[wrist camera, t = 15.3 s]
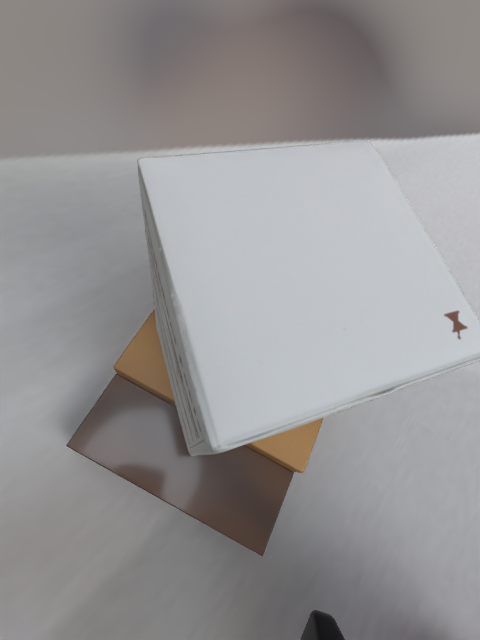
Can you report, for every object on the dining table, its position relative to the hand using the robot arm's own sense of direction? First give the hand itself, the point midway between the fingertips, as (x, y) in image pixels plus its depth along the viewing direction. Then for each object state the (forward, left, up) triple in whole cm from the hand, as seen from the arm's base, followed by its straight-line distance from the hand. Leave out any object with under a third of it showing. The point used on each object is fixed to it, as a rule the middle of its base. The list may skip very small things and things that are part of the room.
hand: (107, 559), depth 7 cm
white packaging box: (+4, -7, -10) cm, 13 cm away
